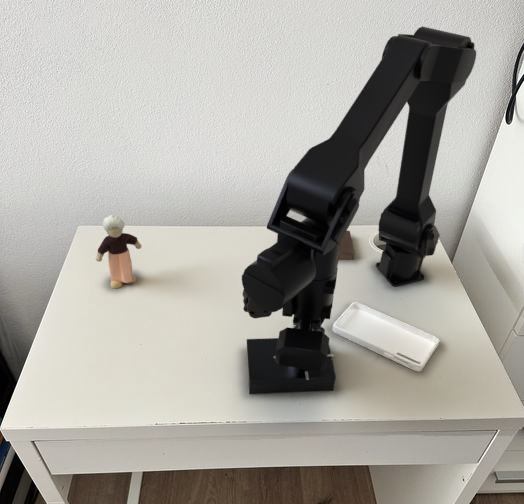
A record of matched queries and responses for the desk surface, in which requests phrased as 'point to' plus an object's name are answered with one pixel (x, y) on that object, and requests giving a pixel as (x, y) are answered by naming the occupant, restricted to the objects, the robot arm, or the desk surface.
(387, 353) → the phone case
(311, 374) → the panel
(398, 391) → the desk surface
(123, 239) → the grandmother figurine
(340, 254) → the control block
